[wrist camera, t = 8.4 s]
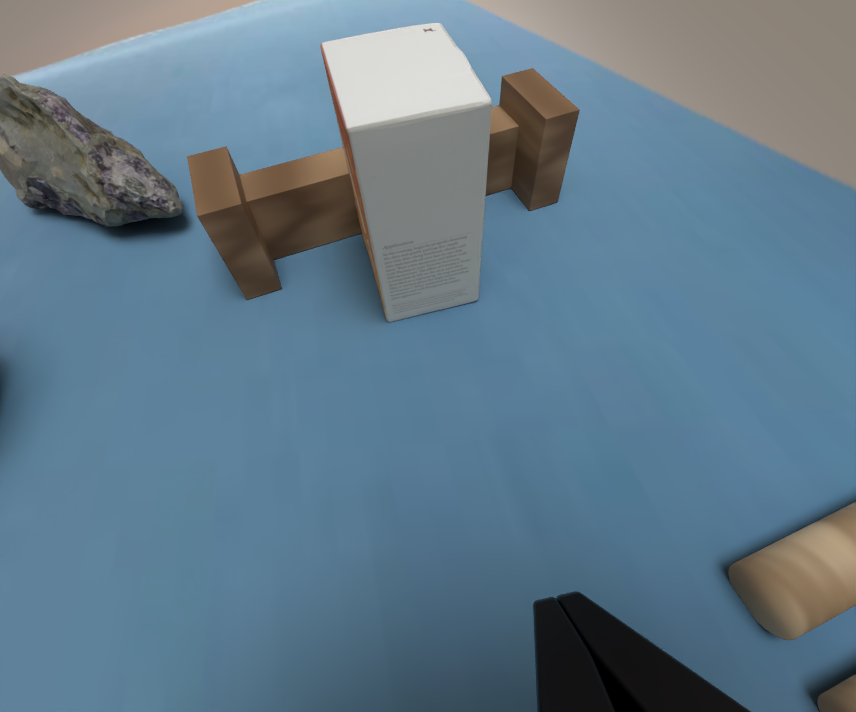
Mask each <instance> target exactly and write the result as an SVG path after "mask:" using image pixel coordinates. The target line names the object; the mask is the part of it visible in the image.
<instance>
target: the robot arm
mask: <svg viewBox="0 0 856 712" xmlns="http://www.w3.org/2000/svg"><path fill="white" fill-rule="evenodd" d="M533 612H534V638H535V663H536V688H537V712H751V711H749V710H748V709H746V708H745V707H743V706H742V705H741V704H739V703H738V702H736V701H735V700H733V699H732V698H731V697H729V696H728V695H726V694H725V693H723V692H722V691H721V690H719V689H718V688H716V687H715V686H713V685H712V684H711V683H709V682H708V681H706V680H705V679H703V678H702V677H700V676H699V675H698V674H696V673H695V672H693V671H692V670H690V669H689V668H688V667H686V666H685V665H683V664H682V663H680V662H679V661H678V660H676V659H675V658H673V657H672V656H670V655H669V654H668V653H666V652H665V651H663V650H662V649H660V648H659V647H657V646H656V645H655V644H653V643H652V642H650V641H649V640H647V639H646V638H645V637H643V636H642V635H640V634H639V633H637V632H636V631H635V630H633V629H632V628H630V627H629V626H627V625H626V624H625V623H623V622H622V621H620V620H619V619H617V618H616V617H615V616H613V615H612V614H610V613H609V612H607V611H606V610H604V609H603V608H602V607H600V606H599V605H597V604H596V603H594V602H593V601H592V600H590V599H589V598H587V597H586V596H584V595H583V594H582V593H580V592H576V591H575V592H570V593H566V594H562V595H559V596H558V597H557V598H554V597H549V598H545V599H541V600H537V601H535V602H534V604H533Z"/></svg>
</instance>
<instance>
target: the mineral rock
mask: <svg viewBox="0 0 856 712" xmlns="http://www.w3.org/2000/svg"><path fill="white" fill-rule="evenodd" d="M0 169H1V171H2V173H3V175H4V176H5V178H6V179H7V180H8V181H9V183H10V184H11V185H12V186H13V187H14V188H15V189H16V194H17V197H18V198H19V199H20V200H21V201H22V202H23V203H24V204H25V205H26V206H28V207H31V208H34V209H42V208H53V209H56V210H58V211H59V212H61V213H62V214H64V215H76V216H83V217H85V218H87V219H92V220H94V221H95V222H97V223H99V224H101V225H103V226H105V227H111V226H121V225H123V224H127V223H131V222H135V221H140V220H144V219H148V218H168V217H175V216H178V215H180V214H181V213H182V210H183V204H182V202H181V201H180V200H179V195H178V192H177V189H176V188H175V186H174V185H173V184H172V183H171V182H170V181H169V180H167V179H166V178H165V177H164V176H163V175H161V174H160V173H159V172H158V171H157V170H156V169H155V168H154V167H153V166H152V165H151V164H150V163H149V162H148V161H147V160H146V159H145V158H144V156H143V154H142V153H141V151H140V150H138V149H136V148H135V147H134V146H133V145H131V144H130V143H128V142H127V141H125V140H124V139H121V138H118V137H116V136H114V135H113V134H112V133H111V132H110V131H108V130H106V129H104V128H101V127H100V126H98V125H97V124H95V123H94V122H92V121H91V120H90V119H88V118H85V117H84V116H83V115H81V114H80V113H79V112H78V111H76V110H75V109H74V108H73V107H72V106H71V105H70V104H69V103H68V101H67V100H66V99H65V98H63V97H61V96H58V95H57V94H55V93H53V92H52V91H50V90H48V89H45V88H42V87H35V86H31V85H27V84H22V83H19V82H18V81H17V80H16V79H15V78H13V77H10V76H7V75H3V76H1V77H0Z"/></svg>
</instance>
